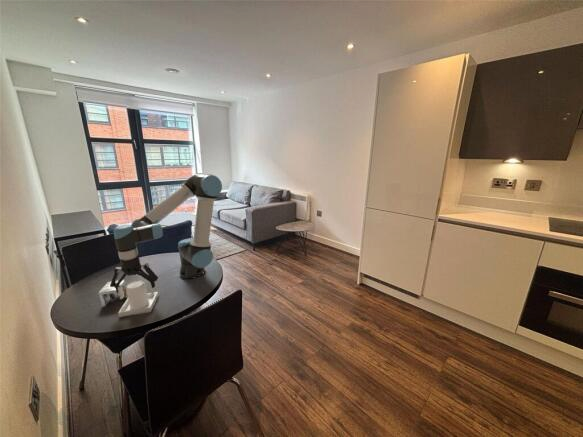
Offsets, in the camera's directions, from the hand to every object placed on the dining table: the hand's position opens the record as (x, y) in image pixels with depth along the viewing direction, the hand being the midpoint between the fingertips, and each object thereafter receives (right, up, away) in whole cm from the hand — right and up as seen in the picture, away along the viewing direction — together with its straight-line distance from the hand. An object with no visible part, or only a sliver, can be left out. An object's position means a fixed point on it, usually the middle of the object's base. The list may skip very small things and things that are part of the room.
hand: (137, 295), depth 117 cm
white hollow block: (-16, -5, +7) cm, 18 cm away
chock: (-9, -4, +11) cm, 14 cm away
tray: (0, -6, +2) cm, 6 cm away
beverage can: (0, -6, +2) cm, 6 cm away
